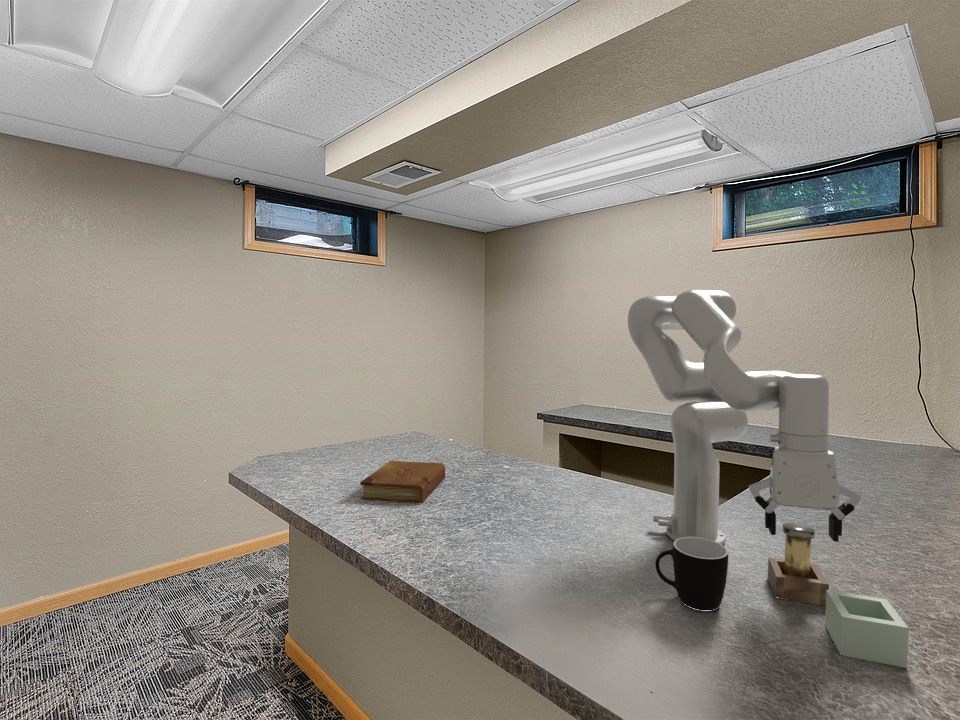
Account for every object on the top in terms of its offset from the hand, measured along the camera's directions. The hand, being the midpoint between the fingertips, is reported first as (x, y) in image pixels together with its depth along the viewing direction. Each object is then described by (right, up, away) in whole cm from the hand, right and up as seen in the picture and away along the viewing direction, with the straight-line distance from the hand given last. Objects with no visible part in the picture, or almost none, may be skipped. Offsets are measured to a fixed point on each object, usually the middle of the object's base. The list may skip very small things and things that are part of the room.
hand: (802, 535), depth 91 cm
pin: (0, -11, +1) cm, 11 cm away
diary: (-82, -8, +62) cm, 102 cm away
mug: (-21, -11, -1) cm, 24 cm away
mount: (0, -11, +1) cm, 11 cm away
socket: (0, -12, -14) cm, 19 cm away
